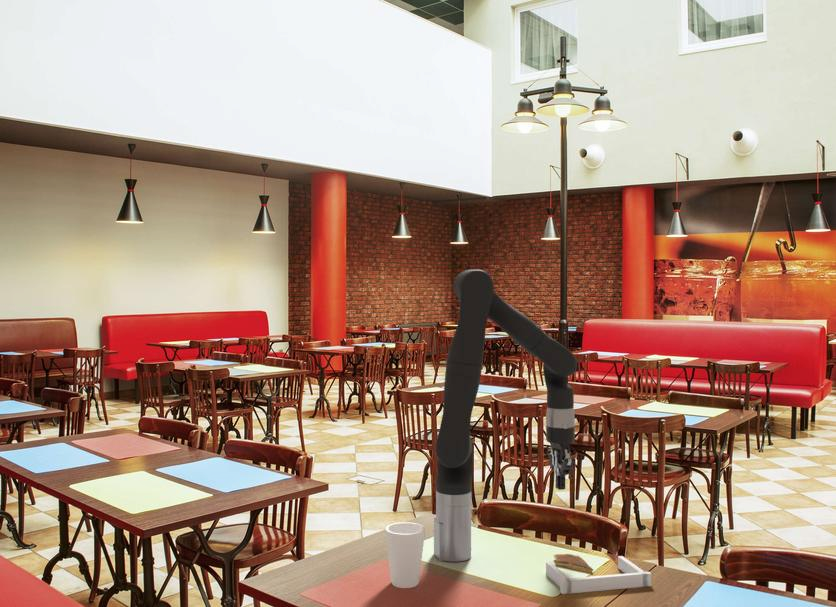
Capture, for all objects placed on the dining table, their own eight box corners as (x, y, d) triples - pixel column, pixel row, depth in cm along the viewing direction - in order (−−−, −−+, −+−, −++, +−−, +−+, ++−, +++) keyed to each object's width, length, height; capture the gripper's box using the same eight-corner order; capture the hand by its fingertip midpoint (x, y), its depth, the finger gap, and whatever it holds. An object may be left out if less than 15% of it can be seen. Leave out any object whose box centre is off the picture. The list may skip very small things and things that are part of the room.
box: (562, 594, 170) (562, 581, 170) (542, 574, 181) (542, 562, 181) (651, 586, 174) (651, 573, 174) (625, 567, 186) (625, 555, 186)
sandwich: (593, 575, 182) (593, 568, 182) (563, 577, 181) (563, 569, 181) (578, 560, 193) (578, 553, 193) (549, 561, 192) (549, 554, 192)
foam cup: (430, 578, 179) (430, 524, 179) (417, 592, 170) (417, 536, 170) (393, 573, 182) (393, 520, 182) (379, 587, 173) (379, 532, 173)
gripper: (537, 420, 204) (538, 483, 204) (557, 429, 191) (557, 496, 191) (563, 419, 205) (563, 482, 206) (584, 427, 193) (584, 494, 193)
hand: (560, 488), depth 198 cm, fingers closed
